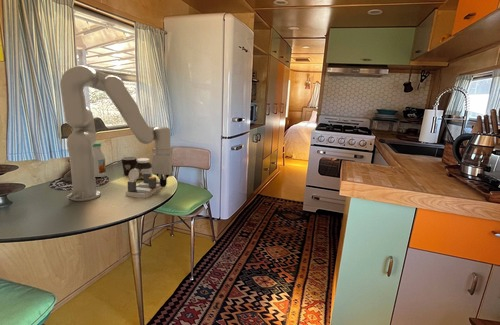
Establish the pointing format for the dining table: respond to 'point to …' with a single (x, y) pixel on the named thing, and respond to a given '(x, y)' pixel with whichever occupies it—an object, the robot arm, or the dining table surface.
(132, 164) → the coffee mug
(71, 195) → the robot arm
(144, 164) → the spread jar
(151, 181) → the breaker
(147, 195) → the small tray
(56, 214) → the dining table surface
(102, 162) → the milk bottle
